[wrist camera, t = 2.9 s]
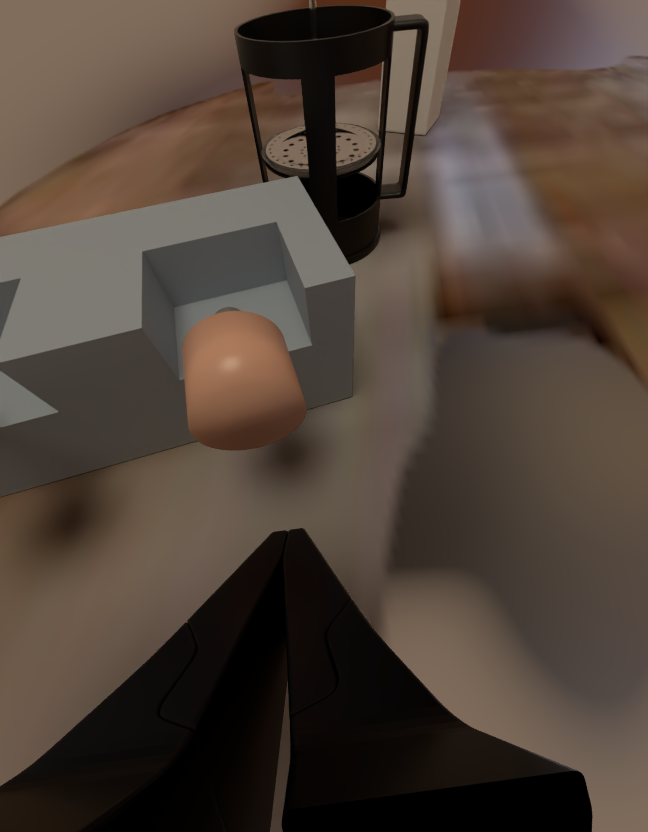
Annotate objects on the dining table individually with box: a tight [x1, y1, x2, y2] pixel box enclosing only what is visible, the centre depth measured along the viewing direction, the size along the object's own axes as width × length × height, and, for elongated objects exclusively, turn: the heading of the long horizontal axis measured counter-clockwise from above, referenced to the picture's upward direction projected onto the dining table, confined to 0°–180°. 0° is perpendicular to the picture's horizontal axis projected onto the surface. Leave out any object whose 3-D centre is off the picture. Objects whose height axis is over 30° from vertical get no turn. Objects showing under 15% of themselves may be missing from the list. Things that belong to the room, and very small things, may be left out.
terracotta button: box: [182, 307, 306, 450], centre depth 11 cm, size 5×4×4 cm
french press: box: [234, 0, 429, 264], centre depth 18 cm, size 12×9×23 cm
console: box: [0, 176, 355, 497], centre depth 16 cm, size 9×32×8 cm, turn 107°
